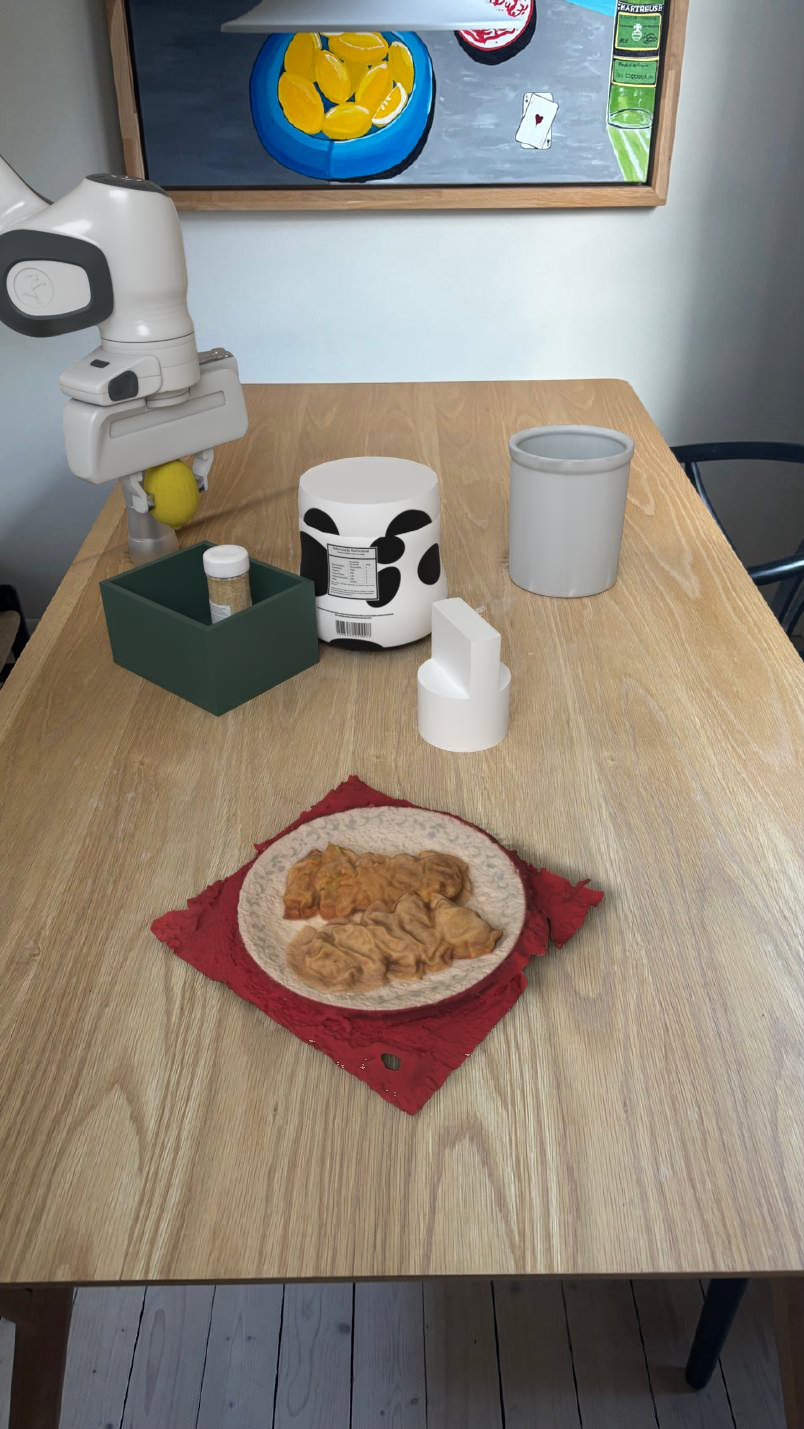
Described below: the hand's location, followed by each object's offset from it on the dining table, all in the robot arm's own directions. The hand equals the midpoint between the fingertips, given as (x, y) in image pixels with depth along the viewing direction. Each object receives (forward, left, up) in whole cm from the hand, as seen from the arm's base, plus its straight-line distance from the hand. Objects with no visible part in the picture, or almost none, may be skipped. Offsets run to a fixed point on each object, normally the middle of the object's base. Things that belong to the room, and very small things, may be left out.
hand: (172, 501), depth 106 cm
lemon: (0, 0, -3) cm, 3 cm away
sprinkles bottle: (+8, 0, -17) cm, 19 cm away
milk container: (+12, +17, -18) cm, 27 cm away
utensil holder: (+21, +43, -18) cm, 51 cm away
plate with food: (+45, -19, -18) cm, 52 cm away
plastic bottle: (-22, +12, -18) cm, 31 cm away
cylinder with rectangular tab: (+33, +7, -18) cm, 38 cm away
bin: (+4, 0, -18) cm, 18 cm away
